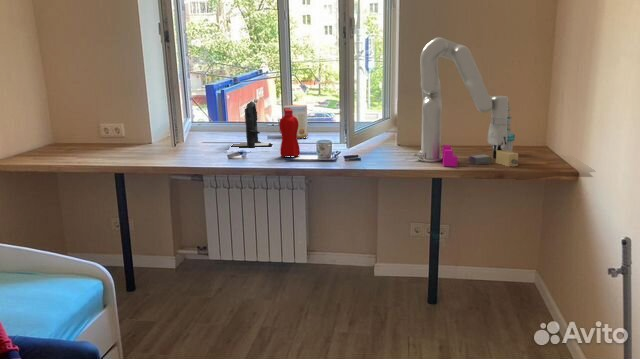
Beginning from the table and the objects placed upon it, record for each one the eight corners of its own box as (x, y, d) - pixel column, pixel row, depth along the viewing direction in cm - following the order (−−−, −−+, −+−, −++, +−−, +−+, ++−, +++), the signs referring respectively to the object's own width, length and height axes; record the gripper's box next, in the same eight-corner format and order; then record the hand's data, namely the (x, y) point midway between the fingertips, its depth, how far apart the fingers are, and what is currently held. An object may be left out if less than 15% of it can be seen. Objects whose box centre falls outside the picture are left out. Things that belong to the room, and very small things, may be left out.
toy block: (457, 166, 256) (458, 151, 254) (443, 165, 257) (444, 150, 255) (454, 160, 271) (456, 145, 269) (442, 159, 272) (443, 145, 270)
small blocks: (475, 164, 260) (475, 158, 259) (468, 162, 265) (469, 155, 264) (511, 161, 265) (511, 154, 264) (503, 158, 271) (504, 152, 270)
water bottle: (286, 153, 296) (284, 108, 290) (302, 155, 290) (300, 109, 284) (275, 156, 289) (273, 110, 283) (291, 158, 283) (290, 111, 277)
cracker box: (308, 137, 343) (307, 104, 338) (306, 139, 337) (305, 105, 332) (286, 137, 345) (285, 104, 340) (284, 139, 339) (283, 106, 334)
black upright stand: (235, 142, 334) (231, 96, 327) (275, 141, 333) (273, 95, 326) (224, 153, 303) (220, 102, 296) (269, 152, 302) (266, 101, 295)
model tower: (515, 156, 274) (519, 97, 266) (495, 156, 276) (498, 97, 268) (512, 152, 284) (516, 95, 276) (493, 152, 286) (496, 95, 278)
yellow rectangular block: (511, 167, 252) (512, 155, 251) (495, 162, 263) (496, 150, 262) (520, 166, 254) (521, 154, 252) (504, 161, 265) (505, 149, 263)
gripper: (483, 120, 267) (481, 156, 272) (501, 124, 254) (499, 162, 258) (496, 119, 269) (494, 154, 274) (515, 123, 256) (512, 160, 260)
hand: (496, 158), depth 266 cm, fingers closed
